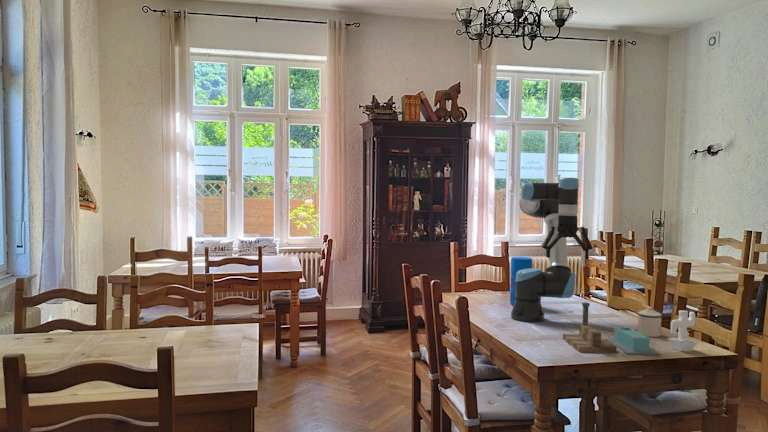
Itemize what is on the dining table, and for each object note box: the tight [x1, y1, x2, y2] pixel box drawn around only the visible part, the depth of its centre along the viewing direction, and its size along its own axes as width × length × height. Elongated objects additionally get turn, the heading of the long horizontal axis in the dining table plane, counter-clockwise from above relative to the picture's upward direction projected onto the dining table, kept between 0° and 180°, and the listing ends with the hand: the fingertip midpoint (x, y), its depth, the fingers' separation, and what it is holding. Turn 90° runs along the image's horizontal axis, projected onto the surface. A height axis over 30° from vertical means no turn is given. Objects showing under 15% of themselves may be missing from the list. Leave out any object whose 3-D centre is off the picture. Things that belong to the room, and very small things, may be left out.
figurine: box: [667, 310, 698, 352], centre depth 202 cm, size 7×9×15 cm
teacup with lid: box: [637, 306, 663, 338], centre depth 225 cm, size 12×9×12 cm
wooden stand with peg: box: [562, 301, 618, 353], centre depth 206 cm, size 18×14×16 cm
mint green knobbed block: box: [613, 326, 651, 351], centre depth 206 cm, size 16×6×5 cm, turn 0°
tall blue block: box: [509, 256, 533, 307], centre depth 279 cm, size 11×11×25 cm
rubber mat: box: [604, 337, 661, 356], centre depth 206 cm, size 20×12×1 cm, turn 0°
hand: (566, 266), depth 222 cm, fingers open, 13 cm apart
